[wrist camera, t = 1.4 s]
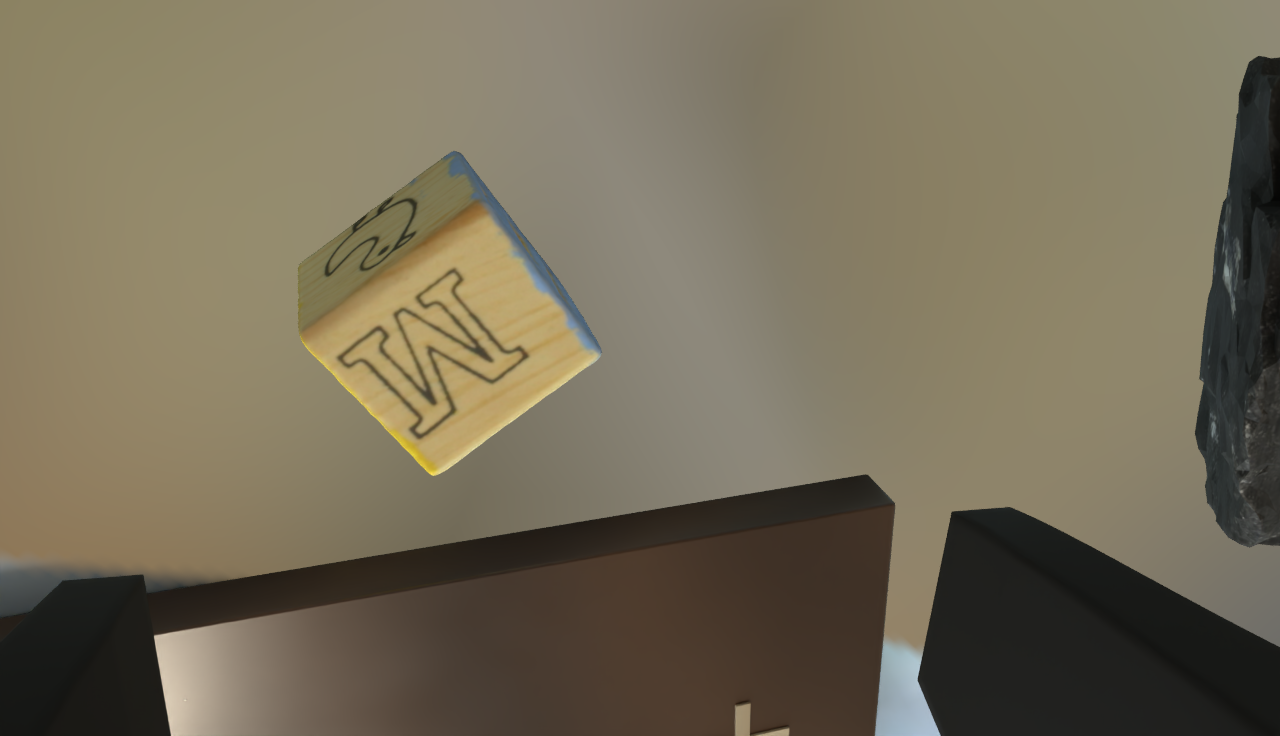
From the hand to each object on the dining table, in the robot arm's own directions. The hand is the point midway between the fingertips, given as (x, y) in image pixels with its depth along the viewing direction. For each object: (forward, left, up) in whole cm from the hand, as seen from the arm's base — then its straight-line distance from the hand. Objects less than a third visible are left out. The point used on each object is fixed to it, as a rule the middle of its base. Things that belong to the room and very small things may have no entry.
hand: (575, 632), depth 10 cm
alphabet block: (0, 0, -9) cm, 9 cm away
